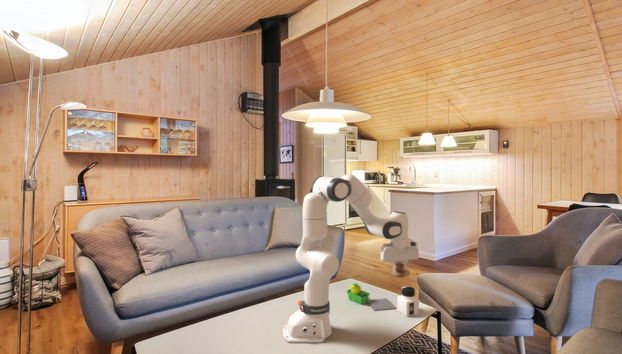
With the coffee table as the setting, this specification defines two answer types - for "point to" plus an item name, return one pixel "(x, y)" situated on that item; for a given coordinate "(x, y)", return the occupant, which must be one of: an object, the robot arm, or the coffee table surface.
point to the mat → (381, 304)
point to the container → (408, 302)
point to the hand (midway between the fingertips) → (399, 268)
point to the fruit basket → (357, 294)
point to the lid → (399, 271)
